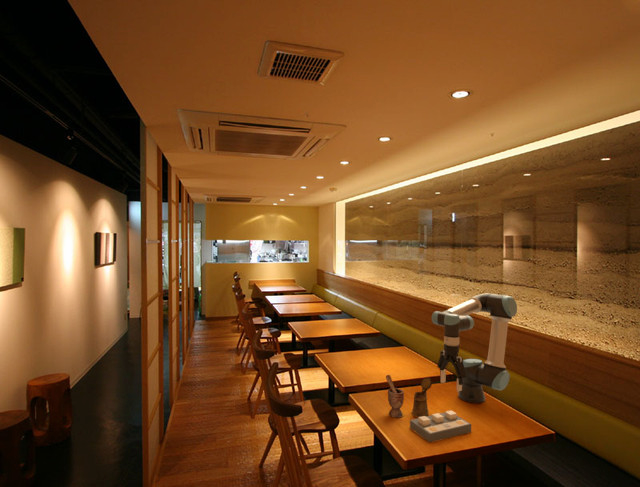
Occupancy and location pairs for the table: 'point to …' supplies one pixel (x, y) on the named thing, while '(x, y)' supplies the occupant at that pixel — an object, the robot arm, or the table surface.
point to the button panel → (441, 428)
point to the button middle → (437, 418)
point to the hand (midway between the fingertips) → (450, 386)
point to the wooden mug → (421, 399)
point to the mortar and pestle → (395, 399)
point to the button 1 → (424, 421)
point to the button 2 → (450, 415)
